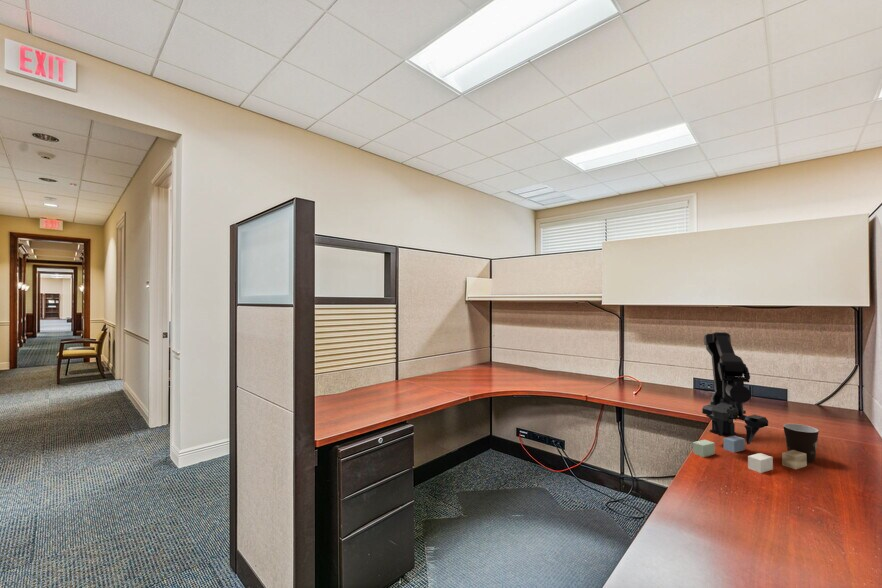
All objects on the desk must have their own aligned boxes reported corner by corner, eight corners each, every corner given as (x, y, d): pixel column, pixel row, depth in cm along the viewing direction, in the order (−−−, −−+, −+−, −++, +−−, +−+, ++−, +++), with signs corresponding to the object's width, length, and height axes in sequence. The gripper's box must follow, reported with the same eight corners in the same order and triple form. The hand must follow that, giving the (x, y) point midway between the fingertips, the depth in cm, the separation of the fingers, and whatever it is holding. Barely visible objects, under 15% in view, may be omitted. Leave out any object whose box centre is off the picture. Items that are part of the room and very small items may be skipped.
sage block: (693, 453, 135) (692, 442, 135) (704, 450, 137) (704, 439, 137) (703, 457, 132) (702, 445, 132) (714, 454, 134) (714, 442, 134)
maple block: (782, 465, 124) (781, 452, 124) (793, 462, 127) (793, 449, 127) (795, 469, 121) (795, 457, 121) (806, 466, 123) (806, 453, 123)
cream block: (748, 468, 123) (747, 456, 123) (760, 465, 125) (759, 452, 125) (760, 473, 119) (760, 460, 119) (772, 469, 122) (772, 457, 122)
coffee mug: (807, 465, 124) (806, 433, 124) (777, 454, 132) (776, 425, 132) (832, 460, 127) (831, 429, 127) (802, 450, 135) (801, 421, 135)
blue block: (723, 449, 138) (723, 438, 138) (734, 446, 140) (734, 435, 140) (734, 453, 135) (733, 441, 135) (745, 450, 137) (744, 438, 137)
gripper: (691, 392, 143) (692, 434, 143) (747, 405, 126) (749, 453, 126) (711, 389, 148) (712, 430, 147) (768, 400, 130) (769, 447, 130)
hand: (734, 439), depth 138 cm, fingers open, 9 cm apart
